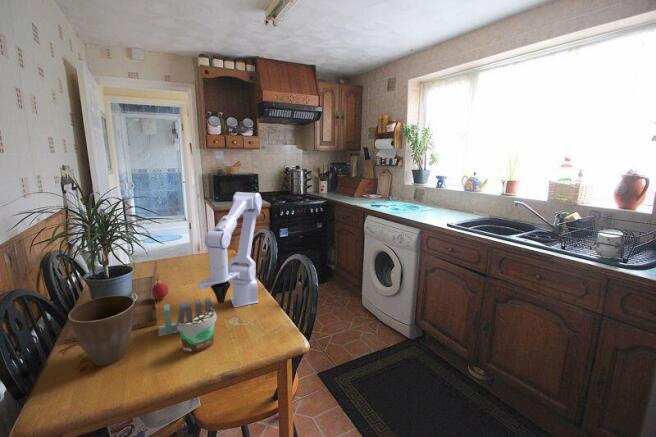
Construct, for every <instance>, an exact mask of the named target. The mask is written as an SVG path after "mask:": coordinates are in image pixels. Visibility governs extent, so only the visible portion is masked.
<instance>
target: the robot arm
mask: <svg viewBox="0 0 656 437" xmlns="http://www.w3.org/2000/svg"><path fill="white" fill-rule="evenodd" d="M262 204H263V199H262V196H261V194H260V193H259V192H240V191H236V192H235V193H234V194H233V197H232V206H231V208H230V210H229V212H228V214H227V215H226V214H225V215H223V216H222V217H221V219H219V221H218V223H217V224H216V226H215V227H214V229H213V230H210V231H208V232H207V233H206V235H205V238H204V239H205V240H204V245H205V247H206V249H207V250H206V252H207V253H208V255H209V270H210V272H209V273H210V277H208V278H206V279H205V280H202V281H200V282H198V283H197V288H198V290H200V291H203V290H204V289H206V288H211V289H212V291H213V293H214V295H215V299H216V301H217V303H218V304H220V305H222V304H224V303H225V301H226V296H227V293H228V290H229V289H230V287H231V283H232V297H230V301H231V303H232V305H233V308H239V307H243V306H247V305H248V306H249V305H253V304H257V303H259V294H258V293H259V290H258V289H259V288H258V282H257V279H256V278H255V277H256V274H257V272H256V271H257V270H256V269H257V268H256V265H257V263H256V262H255V261H254V259H252V257H251V251H252V248H253V247H252V245H253V240H254V234H255V227H256V222H257V221H256V220H257V217H258V216H260V214H261V210H262V206H263V205H262ZM241 216H242V217H243V218H242V226H241V230H240V236H239V242H238V248H237V255H236V256H234V257H233V258H231V259H229V258H228V248H229V246H230V244H231V239H232V234H233V233H234V230H235V229H236V228H237V226H238V221H237V220H238V219H239V218H240V217H241ZM228 259H229V260H230V261H228ZM228 262H229V263H228ZM229 281H230V282H229Z"/></svg>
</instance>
